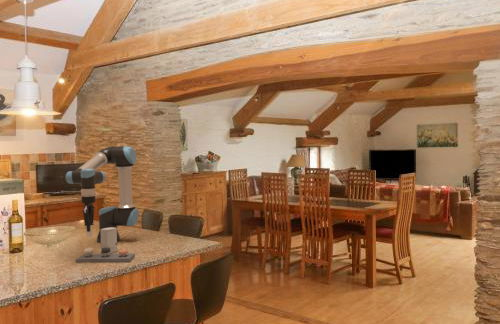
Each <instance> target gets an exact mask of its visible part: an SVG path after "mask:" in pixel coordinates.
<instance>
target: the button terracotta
mask: <svg viewBox="0 0 500 324" xmlns="http://www.w3.org/2000/svg"><path fill="white" fill-rule="evenodd" d="M128 251H129V250H128V249H126V248H123V249H119V250H118V254H120V255H121V257H126V254H129V253H128Z"/></svg>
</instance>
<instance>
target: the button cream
mask: <svg viewBox="0 0 500 324" xmlns="http://www.w3.org/2000/svg"><path fill="white" fill-rule="evenodd" d="M83 252H84V253H83V254H86V257H91V254H93V252H94V247H85V248H83Z"/></svg>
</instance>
